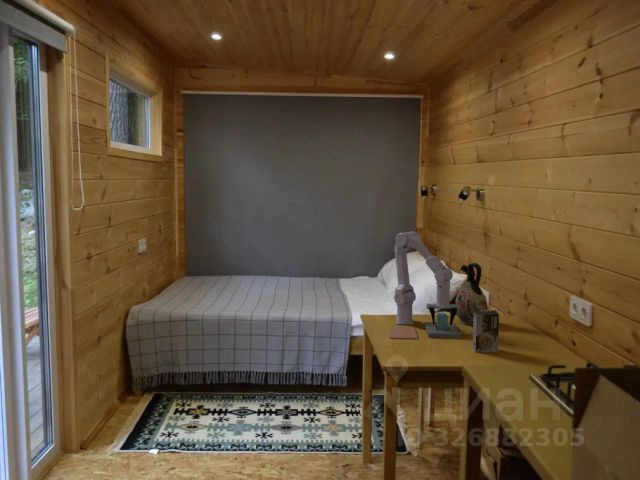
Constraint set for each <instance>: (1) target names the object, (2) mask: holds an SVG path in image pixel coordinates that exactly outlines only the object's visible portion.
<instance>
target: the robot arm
mask: <svg viewBox="0 0 640 480" xmlns="http://www.w3.org/2000/svg"><path fill="white" fill-rule="evenodd" d="M421 239H422V238H421V236H420V235H419V234H418V233H417V232H416V231H414V230H413V231H408V232H400V233H398V234H397V235H396V236H395V243H394V244H395V245H394V256H395V266H396V274H397V275H396V276H397V278H396V279H397V286H396V288H395V289H394V292H395V293H394V302H395V304H396V306H397V307H396V309H397V311H396V318H395V324H396V325H403V326H404V325H407V326H408V325H409V326H410V325H414V320H413V305H414V302H415V301H416V298H417V296H416V295H417V294H416V292H415V291H414V290H415V289H414V287H413V286H412V284H411V283H410V274H409V265H408V254H407V251H408V250H410V248H413V249H415V250H416V251H417V253H419V254H420V255H421V256H422V258H424V260H425V265H426V266H427V267H428V268H429V270H430V271H431V272H432V273H433V275H434V280H435V281H436V303H435V302H434V303H426V305H425V306H426V309H427V310H429V313H430V316H431V317H430V318H431V320H432V321H431V322H433V325H435V322H436V319H435V318H436V311H435V310H437V309H438V310H449V323H450V325H452V323H454V320H455V317H456V316H457V315H456V313H457V310H459V309H460V305H459V304H455V303H450V298H451V297H450V293H451V280H452V279H453V277H454V274H453V271H452V269H451V268H450V267H447V266H446V265H445V264H444V263H443V262H441V260H440V257H438V256H436V255H432V253H431V252H430V251H429V249H428V248H427V247H426V245H425V243H423V241H422V240H421Z"/></svg>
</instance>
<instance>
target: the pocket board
mask: <svg viewBox="0 0 640 480" xmlns="http://www.w3.org/2000/svg"><path fill="white" fill-rule="evenodd" d="M424 329H425V332H426V335H427V337H428V339H429V338H431V339H462V333H461V331H460V329H459V328H458V325H457V324H456V323H455V322H453V323H452V325H450V322H448V330H437V321H435V325H433V321H424Z"/></svg>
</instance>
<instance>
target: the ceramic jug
mask: <svg viewBox="0 0 640 480" xmlns="http://www.w3.org/2000/svg"><path fill="white" fill-rule="evenodd" d="M475 270H476V271H475ZM460 271H462V272H464V273H465V274H466V275H467V278H466V281H465V283H464V284H463V285H462V286H461V287H460V289H459V291H458V293H457V295H456V298H455V301H454V304H459V305H460V309H459V310H457V313H456V315H455V316H457V317H458V319H459V321H460V322H461V324H463V325H469V326H473V316H474V310H489V309H488V302H487V301H488V300H487V298H486V295H485V293H484V292H483V290H482V289H481V287H480V282H481V279H482V278H481V277H482V267H481V265H480V264H478V263H477V262H470V263H468V265H466V264H463V265H462V266H461V267H460Z"/></svg>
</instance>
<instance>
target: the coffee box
mask: <svg viewBox="0 0 640 480" xmlns="http://www.w3.org/2000/svg"><path fill="white" fill-rule="evenodd" d="M499 319H500V314H499V313H498V311H497V310H495V309H488V310H474V316H473V325H472V349H473V351H474V353H488V354H489V353H491V354H492V353H493V354H496V353H497V354H498V353H499V330H500V329H499V325H500V323H499V322H500V320H499Z"/></svg>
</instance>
